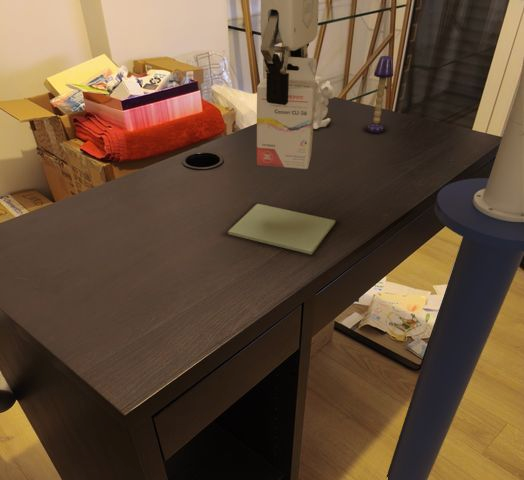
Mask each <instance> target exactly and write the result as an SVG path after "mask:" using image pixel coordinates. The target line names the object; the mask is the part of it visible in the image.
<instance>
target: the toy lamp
mask: <svg viewBox="0 0 524 480" xmlns="http://www.w3.org/2000/svg"><path fill="white" fill-rule="evenodd" d="M373 76H374V77H376V78H378V85H377V91H376V98H375V105H374V112H373V119H372V122H371V123H369V124H368V125H367V128H366V132H368V133H371V134H379V133H383V132H384V126H383V124H381V123H380V122H381V115H382V109H383V103H384V95H385V89H386V82H387V79H389V78H392V77H394V60H393V57H392V56H390V55H381V56H380V57H379V58H378V60H377V64H376V67H375V69H374V72H373Z"/></svg>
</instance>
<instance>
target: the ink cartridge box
mask: <svg viewBox="0 0 524 480" xmlns="http://www.w3.org/2000/svg"><path fill="white" fill-rule="evenodd" d="M279 58H280V60H281V58H282V55H279ZM289 63H290V64H292V65H293V66H298V67H299V70H298V71H293V70H286V73H289V87H288V103H287V104H286V105H280V104H273V103H268V102H267V73H266V71H265V66H266V64H265V61H264V57H262V67H263V68H262V69H263V71H262V72H263V78H262V79H261V80H260V81H259V83H258V85H257V86H256V166H265V167H277V168H289V169H300V170H308V169H309V166H310V161H311V158H312V149H313V148H312V147H313V136H314V135H313V134H314V129H313V123H314V110H315V97H316V85H317V82H316V81H315V78H316V76H317V64H318V61H317V59H316V58H314V57H308V58H300V57H288V64H289Z"/></svg>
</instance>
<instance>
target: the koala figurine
mask: <svg viewBox="0 0 524 480" xmlns="http://www.w3.org/2000/svg"><path fill="white" fill-rule="evenodd" d="M315 81H316V82H317V85H316V97H315V110H314V123H313V130H318V129H319V128H326V127H327V126H328V124H330V122H331V118H329V117H328V118H325V117H326V116H327V114H328V113H329V107H327V106H329V102H330V101H329V100H331V99H334V98H335V97H336V93H335V90H334V87H333V86H332V85H331V82H330V80H327V81H326V82H324V83H323V78H322V76H319V75H316V78H315ZM324 118H325V119H324Z"/></svg>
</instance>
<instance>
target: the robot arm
mask: <svg viewBox="0 0 524 480" xmlns="http://www.w3.org/2000/svg"><path fill="white" fill-rule="evenodd" d="M319 3H320V1H319V0H260V41H261V45H260V53H261V56H262V58H264V61H265V64H266V66H265V71H266V73H267V102H268V103H273V104H280V105H286V104H287V103H288V87H289V73H286V70H293V71H298V70H299V67H298V66H293V65H292V64H290V63H289V64H288V57H300V58H309V54H308V48H309V46H310V44H311V43H312V42H313V41H314V40H316V38H317V36H318V31H319V5H320V4H319ZM278 44H283V46H280V45H278ZM279 54H281V56H282V58H281V60H280V58H279V56H280V55H279ZM488 178H489V179H488V182H487V185H486V188H485V189H482V190H480V191H478V192H476V194H475V195H474V198H473V204H474V206H475V207H476V209H477V210H479V211H480V212H482V213H483V214H485V215H487V216H490V217H492V218H496V219H499V220H503V221H509V222H524V58H523V60H522V66H521V73H520V79H519V83H518V87H517V91H516V94H515V97H514V101H513V104H512V107H511V110H510V113H509V117H508V119H507V122H506V124H505V128H504V131H503V134H502V137H501V140H500V143H499V146H498V149H497V152H496V155H495V159H494V162H493V164H492V167H491V171H490V174H489V176H488Z"/></svg>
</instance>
